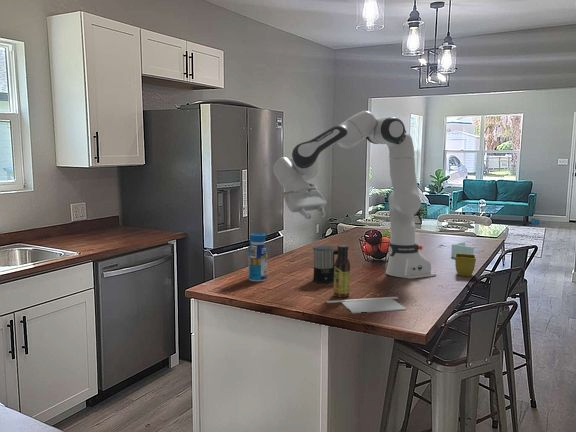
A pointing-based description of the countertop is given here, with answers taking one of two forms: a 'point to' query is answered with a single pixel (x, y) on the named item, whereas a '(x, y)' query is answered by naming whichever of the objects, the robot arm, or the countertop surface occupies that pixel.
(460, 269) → the flower pot
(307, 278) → the countertop surface
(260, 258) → the beverage bottle
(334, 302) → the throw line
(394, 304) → the mat
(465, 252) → the right angle wall
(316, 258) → the milk frother
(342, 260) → the sauce bottle
